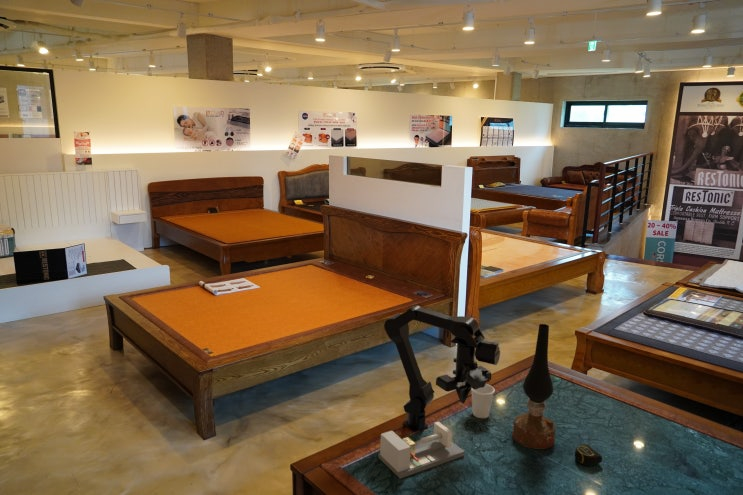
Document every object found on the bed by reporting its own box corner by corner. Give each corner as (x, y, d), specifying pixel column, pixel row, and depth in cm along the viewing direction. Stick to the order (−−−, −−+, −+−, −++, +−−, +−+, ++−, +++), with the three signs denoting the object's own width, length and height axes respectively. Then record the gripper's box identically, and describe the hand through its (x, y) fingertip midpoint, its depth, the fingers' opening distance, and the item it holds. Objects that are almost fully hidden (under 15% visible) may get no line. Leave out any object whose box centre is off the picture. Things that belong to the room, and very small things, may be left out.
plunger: (415, 442, 172) (415, 428, 171) (437, 435, 177) (438, 421, 176) (428, 454, 166) (429, 439, 165) (451, 446, 171) (452, 431, 170)
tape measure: (602, 466, 168) (604, 455, 167) (583, 469, 166) (585, 458, 165) (587, 453, 174) (589, 442, 173) (569, 456, 172) (570, 446, 171)
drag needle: (401, 450, 168) (402, 438, 167) (407, 448, 169) (407, 436, 168) (415, 462, 162) (415, 450, 161) (420, 460, 163) (421, 448, 162)
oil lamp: (505, 439, 187) (487, 327, 181) (543, 425, 191) (527, 315, 185) (528, 457, 174) (510, 337, 168) (568, 442, 178) (552, 325, 172)
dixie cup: (479, 422, 191) (481, 396, 188) (464, 411, 198) (465, 386, 196) (497, 416, 195) (499, 390, 193) (481, 406, 202) (483, 381, 200)
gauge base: (378, 457, 169) (379, 432, 167) (440, 437, 181) (441, 413, 179) (399, 478, 159) (401, 452, 157) (464, 455, 171) (465, 430, 169)
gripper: (458, 373, 163) (455, 421, 166) (505, 361, 172) (501, 406, 175) (435, 359, 172) (433, 405, 175) (481, 348, 181) (478, 392, 185)
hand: (462, 402), depth 177 cm, fingers closed
